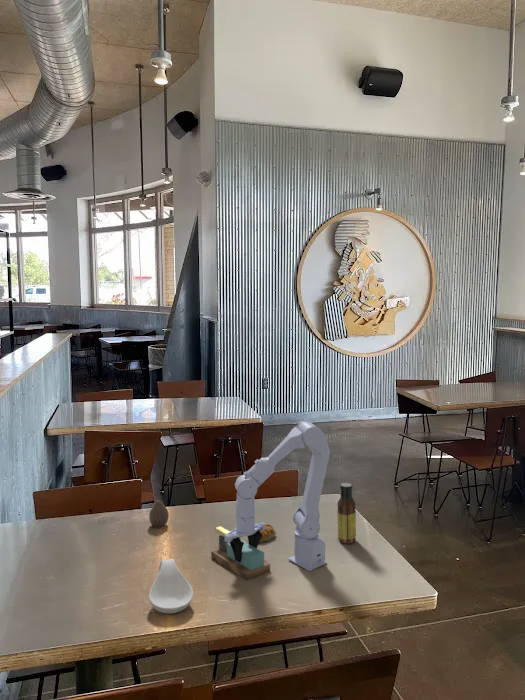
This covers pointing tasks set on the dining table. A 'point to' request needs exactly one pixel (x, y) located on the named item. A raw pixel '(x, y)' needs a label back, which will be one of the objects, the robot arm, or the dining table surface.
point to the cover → (248, 556)
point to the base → (244, 572)
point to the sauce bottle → (346, 515)
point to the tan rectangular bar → (221, 531)
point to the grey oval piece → (158, 514)
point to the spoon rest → (170, 589)
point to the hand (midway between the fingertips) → (245, 557)
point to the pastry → (267, 533)
